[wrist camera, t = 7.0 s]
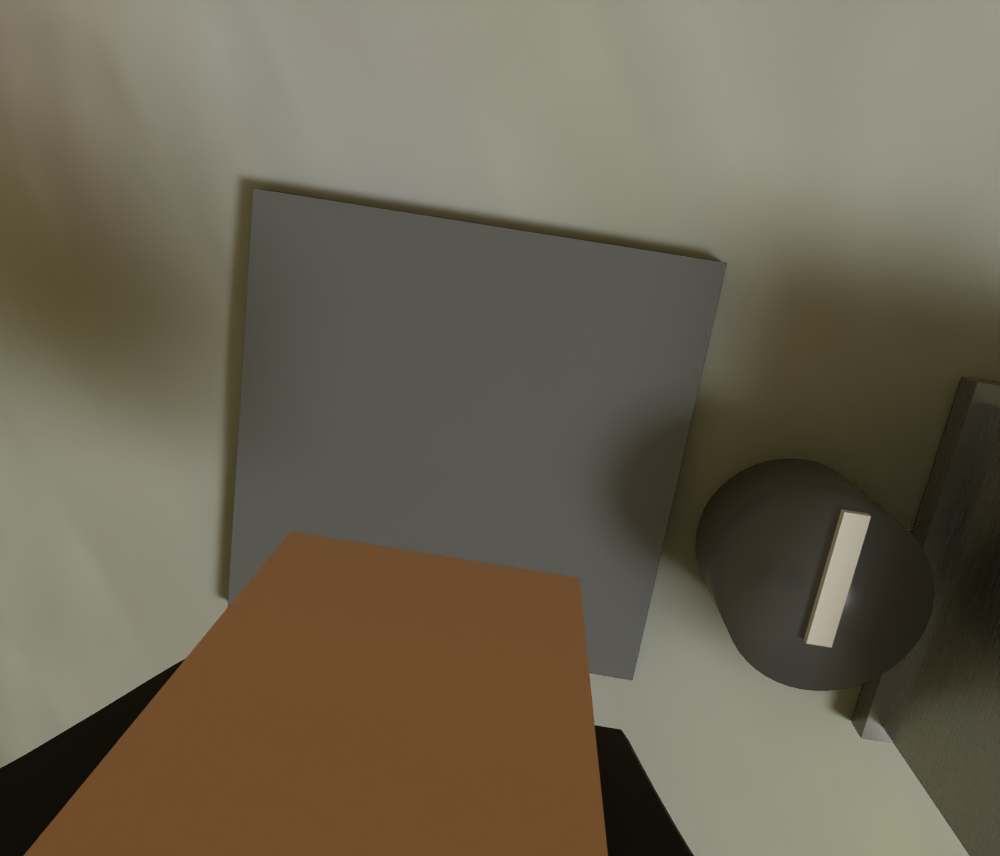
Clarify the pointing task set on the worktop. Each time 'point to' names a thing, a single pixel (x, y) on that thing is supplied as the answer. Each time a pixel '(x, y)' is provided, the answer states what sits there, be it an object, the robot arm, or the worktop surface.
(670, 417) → the rubber mat
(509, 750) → the block
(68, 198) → the worktop surface
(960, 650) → the junction box
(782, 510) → the black knob
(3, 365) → the worktop surface
